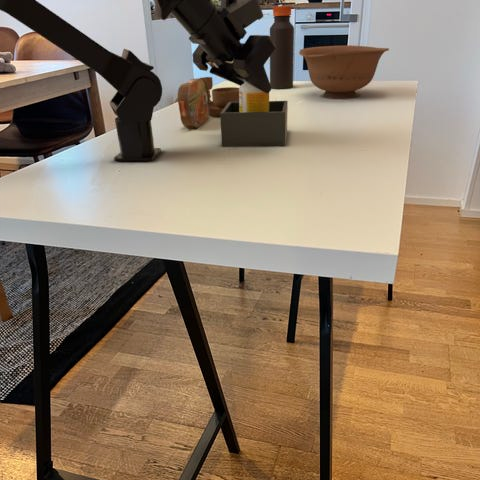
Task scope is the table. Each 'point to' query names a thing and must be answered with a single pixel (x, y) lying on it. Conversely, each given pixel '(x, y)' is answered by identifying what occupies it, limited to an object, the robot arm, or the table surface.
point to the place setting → (220, 97)
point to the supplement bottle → (252, 99)
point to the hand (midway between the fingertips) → (260, 89)
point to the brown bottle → (282, 49)
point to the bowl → (342, 68)
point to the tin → (193, 102)
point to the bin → (254, 125)
